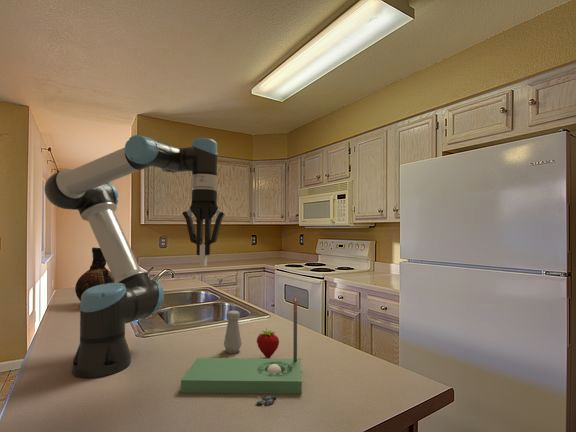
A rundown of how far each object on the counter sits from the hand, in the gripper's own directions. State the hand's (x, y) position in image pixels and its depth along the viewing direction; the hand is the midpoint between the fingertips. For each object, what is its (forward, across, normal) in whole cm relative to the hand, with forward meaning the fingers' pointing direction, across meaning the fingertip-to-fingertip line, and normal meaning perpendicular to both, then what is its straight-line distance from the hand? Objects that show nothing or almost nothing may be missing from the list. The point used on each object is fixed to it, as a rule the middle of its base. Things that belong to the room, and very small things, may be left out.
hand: (203, 266), depth 103 cm
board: (+29, +15, -12) cm, 35 cm away
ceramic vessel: (+30, -73, +65) cm, 103 cm away
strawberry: (+29, +20, +3) cm, 35 cm away
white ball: (+27, +23, -11) cm, 37 cm away
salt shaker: (+29, +8, +9) cm, 32 cm away
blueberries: (+29, +22, -22) cm, 43 cm away
